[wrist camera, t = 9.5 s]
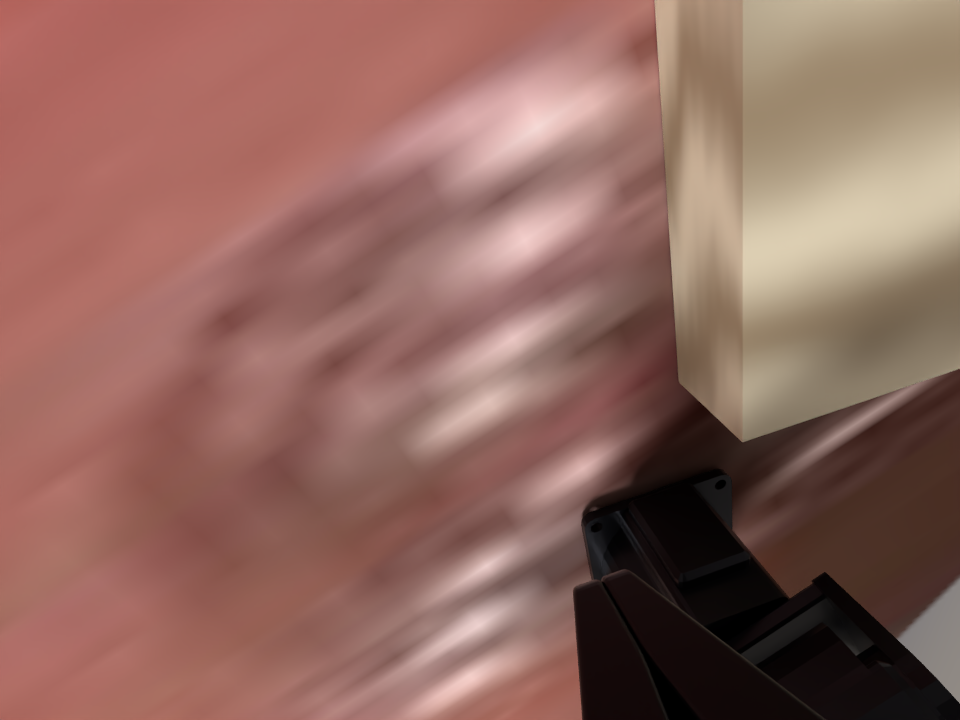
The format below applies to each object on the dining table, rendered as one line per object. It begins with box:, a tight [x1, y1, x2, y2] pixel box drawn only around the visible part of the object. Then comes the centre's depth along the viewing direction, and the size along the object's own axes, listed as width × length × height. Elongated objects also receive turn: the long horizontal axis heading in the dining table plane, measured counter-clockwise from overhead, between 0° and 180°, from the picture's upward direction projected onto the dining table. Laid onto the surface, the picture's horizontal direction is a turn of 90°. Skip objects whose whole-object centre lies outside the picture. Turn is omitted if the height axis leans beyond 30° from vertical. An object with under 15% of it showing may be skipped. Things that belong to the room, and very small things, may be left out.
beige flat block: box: [655, 0, 960, 442], centre depth 16 cm, size 20×11×4 cm, turn 13°
